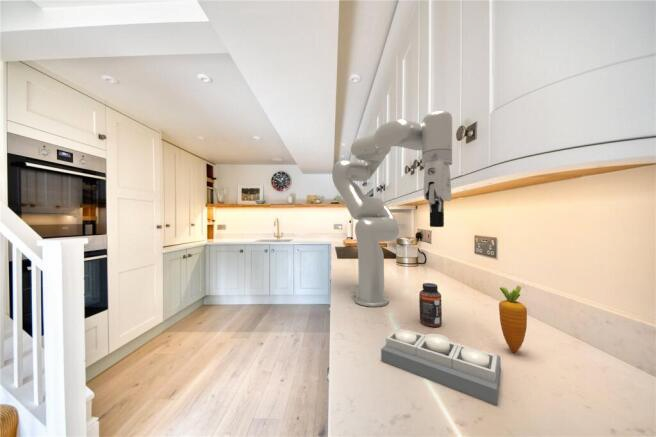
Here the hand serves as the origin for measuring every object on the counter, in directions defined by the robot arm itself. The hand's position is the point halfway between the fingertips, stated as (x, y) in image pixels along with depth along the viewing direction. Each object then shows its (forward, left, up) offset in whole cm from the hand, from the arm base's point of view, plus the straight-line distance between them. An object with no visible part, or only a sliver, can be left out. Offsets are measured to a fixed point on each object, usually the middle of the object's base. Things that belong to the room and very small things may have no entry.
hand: (436, 226), depth 64 cm
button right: (+10, -17, -25) cm, 32 cm away
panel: (+4, -16, -28) cm, 33 cm away
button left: (-3, -17, -25) cm, 31 cm away
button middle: (+4, -17, -25) cm, 30 cm away
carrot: (+16, -1, -28) cm, 33 cm away
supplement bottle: (-3, +4, -29) cm, 29 cm away
